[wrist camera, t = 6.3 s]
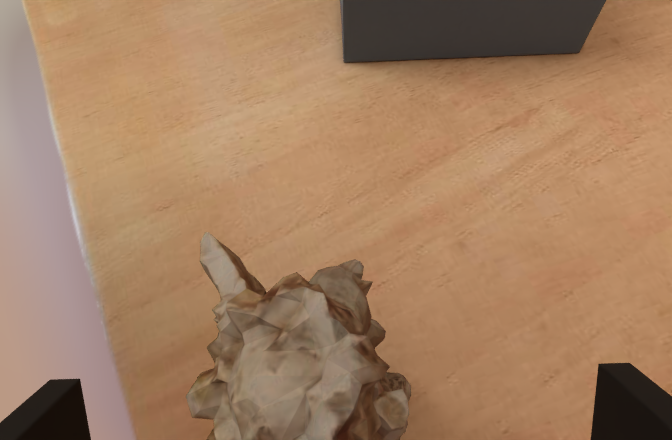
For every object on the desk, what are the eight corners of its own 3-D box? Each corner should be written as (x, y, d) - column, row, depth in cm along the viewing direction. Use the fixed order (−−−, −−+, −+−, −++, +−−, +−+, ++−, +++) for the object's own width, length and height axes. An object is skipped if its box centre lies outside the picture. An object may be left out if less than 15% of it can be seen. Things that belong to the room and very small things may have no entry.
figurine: (415, 542, 16) (638, 722, 4) (261, 533, 17) (-27, 669, 4) (406, 350, 20) (497, 117, 8) (283, 346, 21) (174, 114, 8)
